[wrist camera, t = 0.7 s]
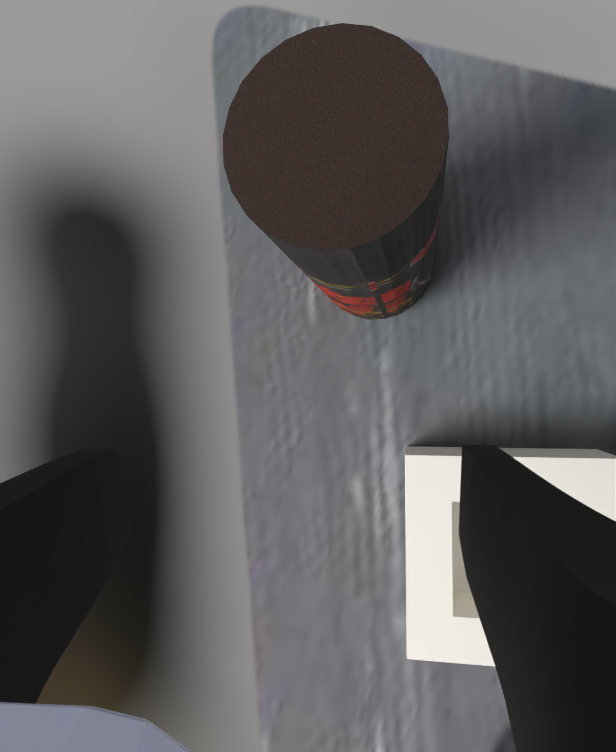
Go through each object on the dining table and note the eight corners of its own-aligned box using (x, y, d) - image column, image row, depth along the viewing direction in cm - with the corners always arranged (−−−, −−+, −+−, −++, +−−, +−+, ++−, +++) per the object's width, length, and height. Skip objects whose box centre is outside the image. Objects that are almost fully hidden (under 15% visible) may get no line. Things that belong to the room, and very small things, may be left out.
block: (598, 635, 27) (628, 677, 23) (408, 621, 29) (406, 658, 25) (595, 448, 27) (624, 459, 24) (406, 445, 29) (404, 455, 25)
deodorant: (296, 258, 30) (180, 136, 16) (382, 182, 29) (346, -24, 15) (367, 343, 29) (316, 298, 15) (458, 266, 29) (500, 138, 14)
